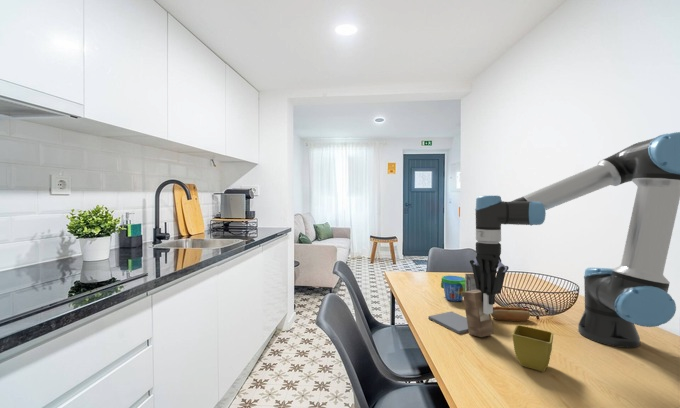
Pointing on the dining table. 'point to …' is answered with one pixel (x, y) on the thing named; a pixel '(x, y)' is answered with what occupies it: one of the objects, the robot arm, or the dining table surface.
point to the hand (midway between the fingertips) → (488, 313)
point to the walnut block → (477, 314)
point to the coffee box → (470, 282)
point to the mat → (451, 321)
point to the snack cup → (453, 287)
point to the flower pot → (532, 347)
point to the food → (510, 313)
